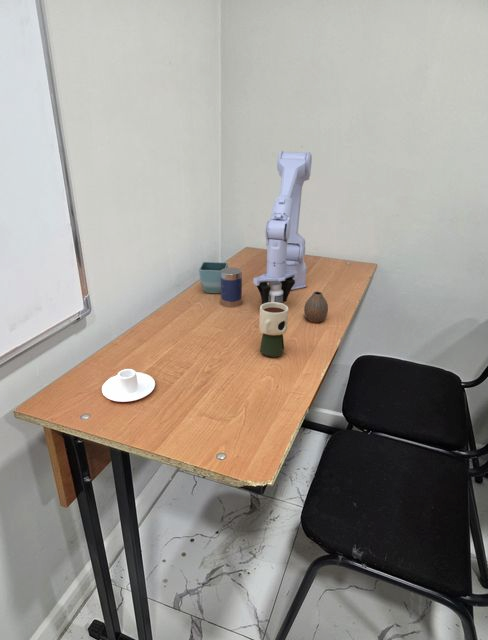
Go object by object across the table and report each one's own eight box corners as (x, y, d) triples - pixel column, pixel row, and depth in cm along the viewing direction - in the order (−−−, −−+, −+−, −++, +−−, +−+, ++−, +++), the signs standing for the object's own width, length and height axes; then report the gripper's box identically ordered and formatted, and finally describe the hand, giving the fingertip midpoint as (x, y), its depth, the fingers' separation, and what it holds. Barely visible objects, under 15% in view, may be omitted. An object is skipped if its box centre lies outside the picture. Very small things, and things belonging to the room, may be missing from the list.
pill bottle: (284, 307, 142) (285, 281, 138) (280, 314, 138) (281, 287, 133) (268, 305, 144) (269, 279, 139) (263, 312, 139) (264, 285, 135)
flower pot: (228, 286, 158) (228, 262, 154) (225, 296, 150) (225, 270, 146) (203, 285, 159) (202, 261, 154) (199, 295, 151) (198, 270, 147)
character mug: (277, 365, 111) (279, 318, 105) (251, 359, 114) (252, 313, 108) (291, 346, 120) (295, 302, 113) (267, 341, 122) (269, 297, 116)
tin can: (235, 297, 149) (235, 266, 144) (245, 304, 144) (245, 272, 139) (217, 301, 147) (217, 269, 141) (226, 308, 141) (226, 275, 136)
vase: (329, 317, 136) (332, 290, 131) (323, 326, 130) (326, 299, 126) (307, 313, 138) (309, 287, 134) (300, 322, 133) (302, 295, 128)
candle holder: (107, 375, 107) (104, 360, 105) (157, 373, 108) (155, 358, 106) (97, 405, 97) (94, 389, 95) (153, 403, 98) (151, 386, 96)
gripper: (262, 268, 127) (260, 312, 133) (304, 261, 133) (300, 303, 139) (250, 261, 132) (249, 303, 139) (291, 254, 138) (288, 295, 145)
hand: (274, 302), depth 139 cm, fingers open, 6 cm apart
